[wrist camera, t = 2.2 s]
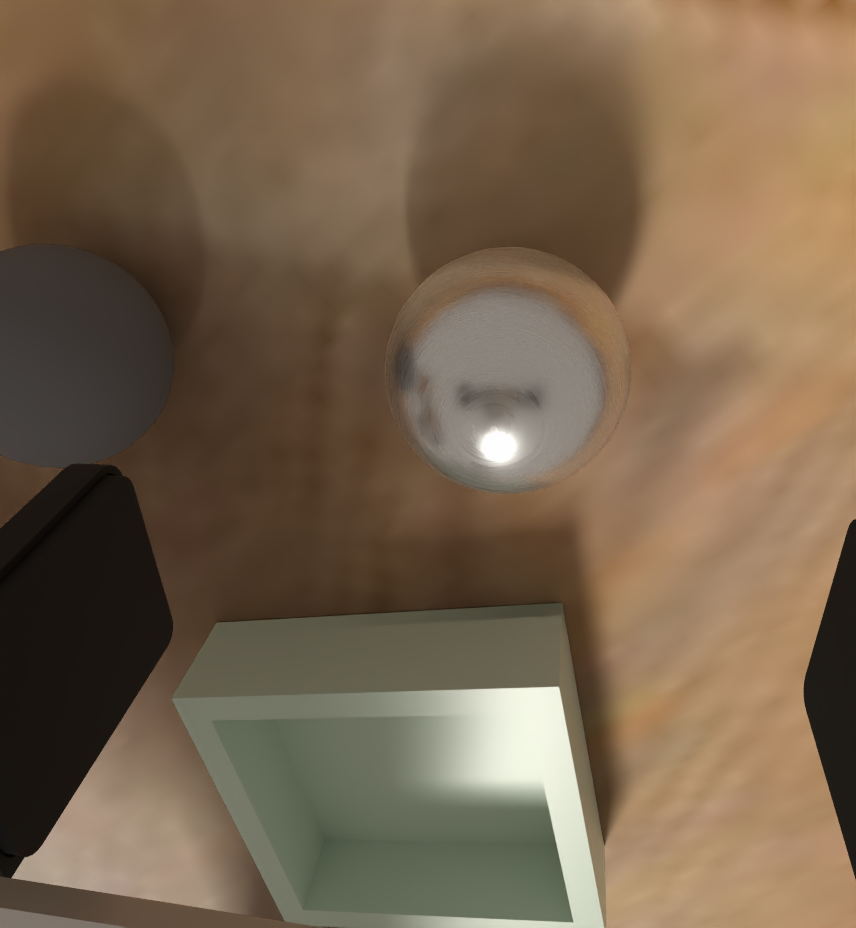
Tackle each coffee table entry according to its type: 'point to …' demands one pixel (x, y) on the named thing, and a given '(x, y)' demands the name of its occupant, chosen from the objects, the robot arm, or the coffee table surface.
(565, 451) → the steel ball
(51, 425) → the rubber ball
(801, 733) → the coffee table surface
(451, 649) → the tray
